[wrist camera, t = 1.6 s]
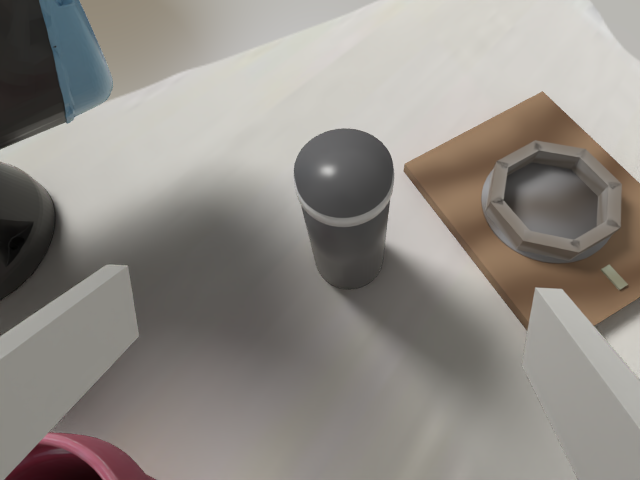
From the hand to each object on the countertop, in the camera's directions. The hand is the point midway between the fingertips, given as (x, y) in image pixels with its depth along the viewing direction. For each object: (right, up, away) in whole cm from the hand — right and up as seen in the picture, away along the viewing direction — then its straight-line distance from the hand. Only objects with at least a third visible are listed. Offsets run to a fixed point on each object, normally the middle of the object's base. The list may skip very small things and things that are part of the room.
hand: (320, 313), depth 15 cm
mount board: (+20, +5, +25) cm, 33 cm away
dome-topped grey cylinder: (+3, +1, +25) cm, 25 cm away
